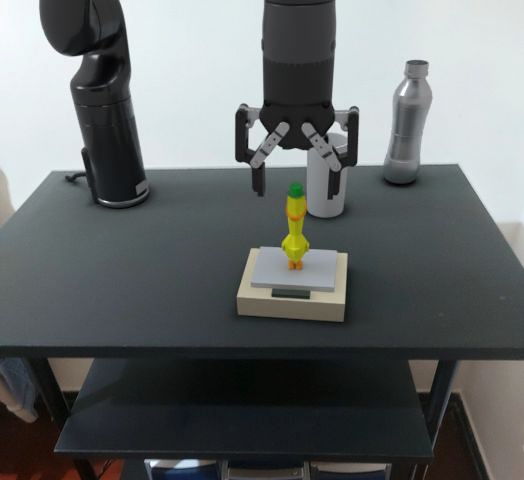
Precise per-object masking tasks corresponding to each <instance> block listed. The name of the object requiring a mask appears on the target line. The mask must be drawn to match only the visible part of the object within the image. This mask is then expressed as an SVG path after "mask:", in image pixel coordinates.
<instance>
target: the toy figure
mask: <svg viewBox="0 0 524 480" xmlns="http://www.w3.org/2000/svg"><path fill="white" fill-rule="evenodd" d="M303 188H304V186H303V183H301V182H297V181H296V182H292V183H290V184H289V190H288V191H286V194H287V196H286V197H287V199H286V205H285V214H286V216H287V222H288V231H289V233H288V235H287V236H286V237H285V238H284V239H283V240H282V242H281V248H282V250H283V251H284V252H285V254H286V255H287V257H288V258H289V269H290V270H293V269H294V267H295V262H296V270H300V269H301V267H302V260H301V258H302V257H303V256H304V254H305V253H306V252H308V251H309V249H310V242H308V240H307V239H306V237H305V236H304V235H303V233H302V232H303V225H304V219H305V216H306V214H307V199H306V195H305V194H306V192H305V190H304V189H303Z"/></svg>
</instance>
